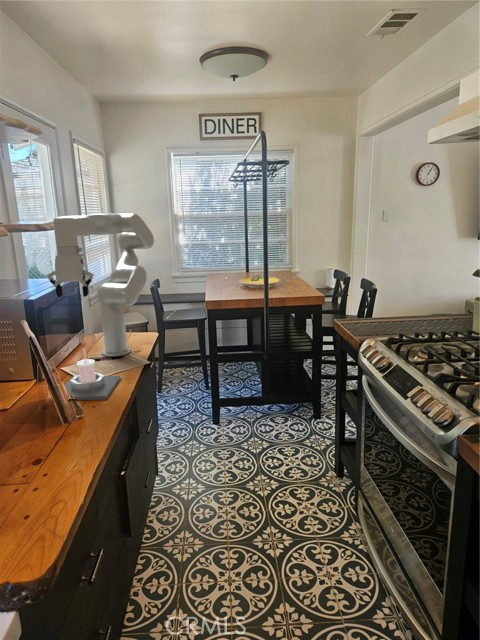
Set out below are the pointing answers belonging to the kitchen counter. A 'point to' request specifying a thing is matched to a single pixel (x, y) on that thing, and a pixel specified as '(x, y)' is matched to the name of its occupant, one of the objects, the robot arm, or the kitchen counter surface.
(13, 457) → the kitchen counter surface
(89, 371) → the beverage cup
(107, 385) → the plate
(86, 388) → the steel collar
